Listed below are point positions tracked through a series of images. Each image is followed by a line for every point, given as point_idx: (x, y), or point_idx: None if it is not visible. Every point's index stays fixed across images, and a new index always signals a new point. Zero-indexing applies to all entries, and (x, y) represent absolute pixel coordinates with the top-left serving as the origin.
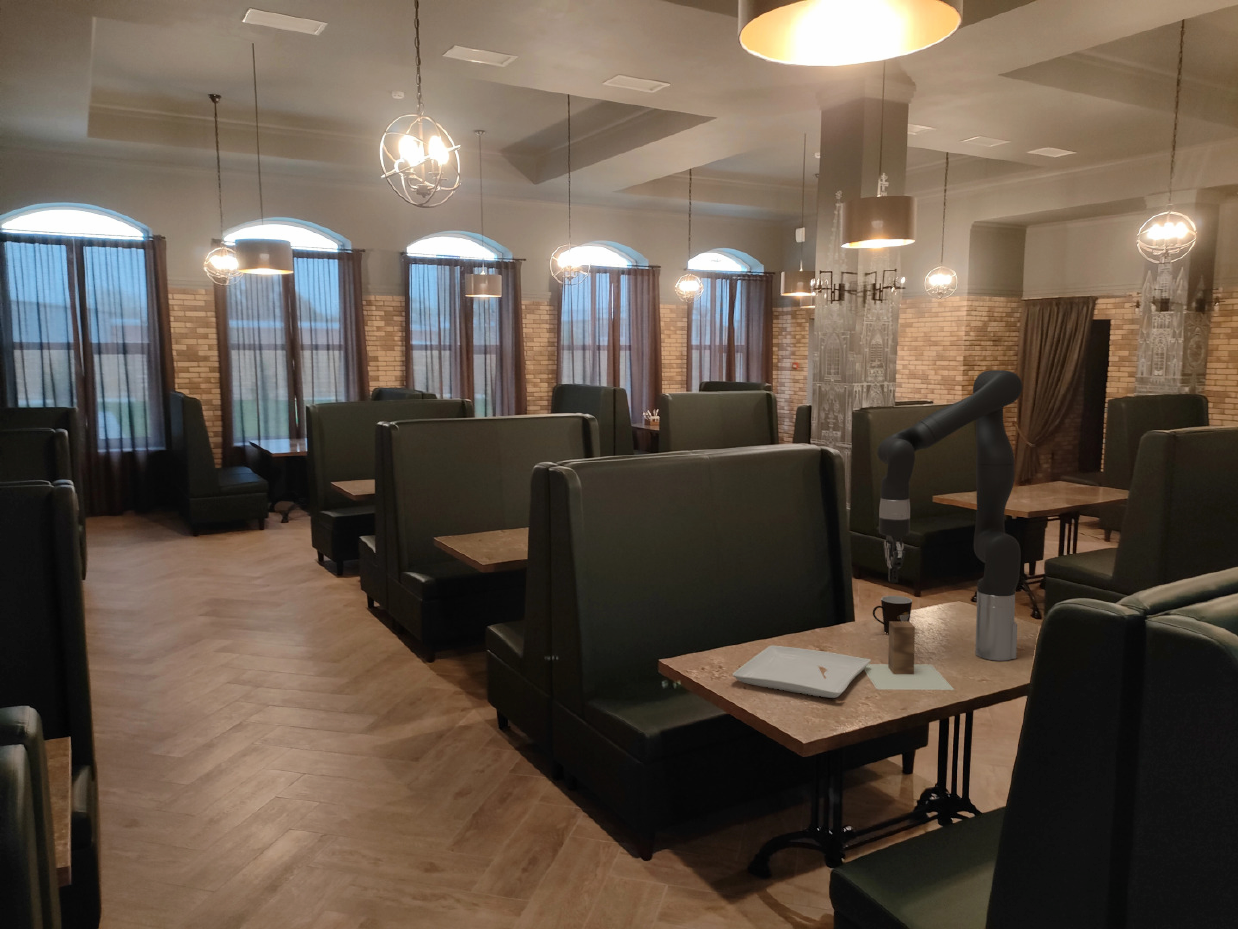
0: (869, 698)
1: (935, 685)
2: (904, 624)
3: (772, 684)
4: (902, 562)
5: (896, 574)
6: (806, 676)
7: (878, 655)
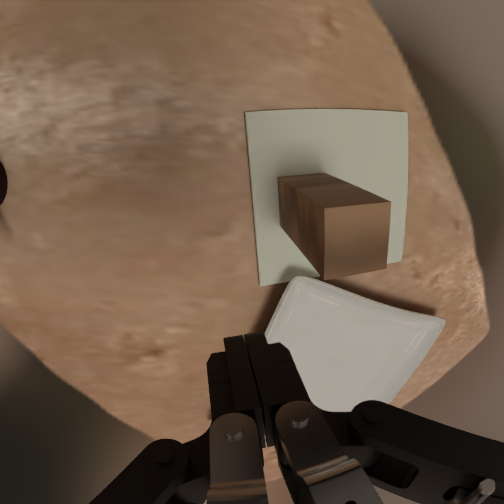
0: (420, 272)
1: (388, 143)
2: (361, 232)
3: (381, 398)
4: (440, 425)
5: (299, 380)
6: (331, 368)
7: (165, 237)
